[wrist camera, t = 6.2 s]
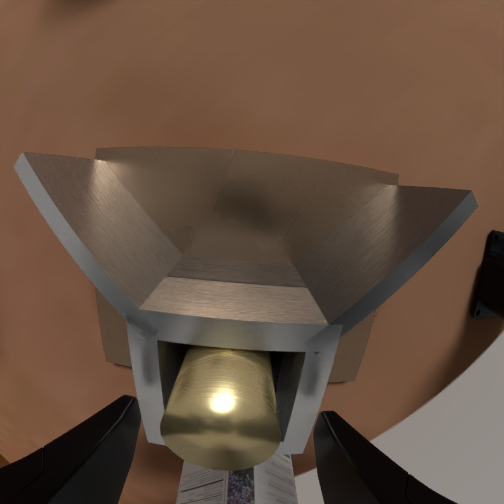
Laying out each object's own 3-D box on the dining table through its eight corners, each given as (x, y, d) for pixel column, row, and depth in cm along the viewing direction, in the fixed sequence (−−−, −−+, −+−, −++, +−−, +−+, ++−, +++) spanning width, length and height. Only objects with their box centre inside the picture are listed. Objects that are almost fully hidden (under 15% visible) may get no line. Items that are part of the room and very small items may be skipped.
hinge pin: (258, 347, 14) (267, 474, 6) (200, 338, 14) (162, 459, 6) (269, 293, 13) (294, 405, 6) (206, 283, 13) (158, 385, 5)
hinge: (389, 174, 13) (483, 174, 6) (349, 371, 16) (390, 452, 9) (105, 150, 13) (14, 134, 6) (112, 353, 15) (61, 427, 8)
